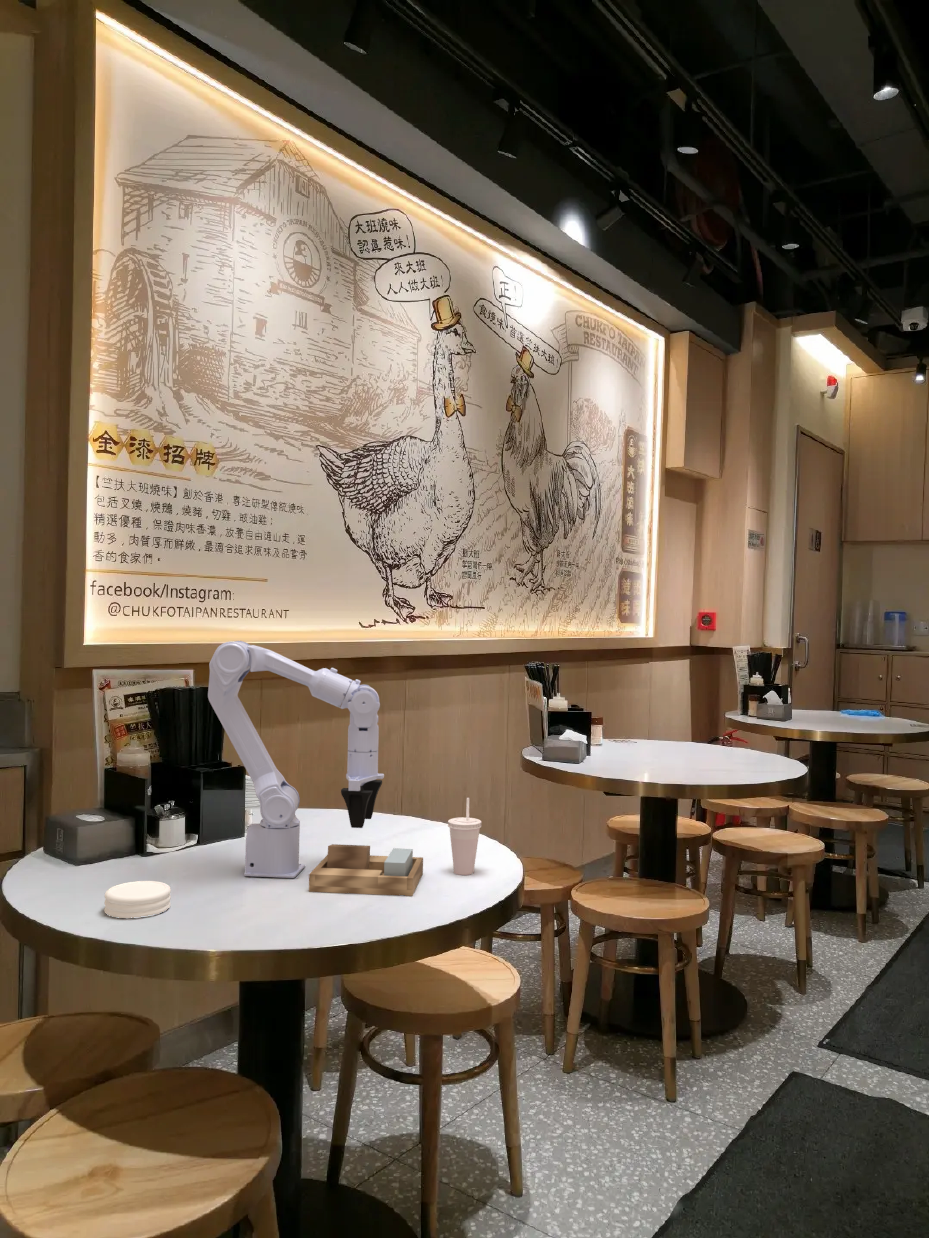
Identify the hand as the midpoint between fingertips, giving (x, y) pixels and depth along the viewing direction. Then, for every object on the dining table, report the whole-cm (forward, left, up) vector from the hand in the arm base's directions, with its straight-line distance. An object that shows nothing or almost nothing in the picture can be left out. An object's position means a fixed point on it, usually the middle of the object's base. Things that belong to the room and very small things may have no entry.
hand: (361, 822), depth 166 cm
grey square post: (+8, -7, -8) cm, 13 cm away
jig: (+3, -7, -9) cm, 12 cm away
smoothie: (+19, +2, -9) cm, 22 cm away
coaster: (-31, -27, -10) cm, 42 cm away
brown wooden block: (-1, -7, -8) cm, 10 cm away
